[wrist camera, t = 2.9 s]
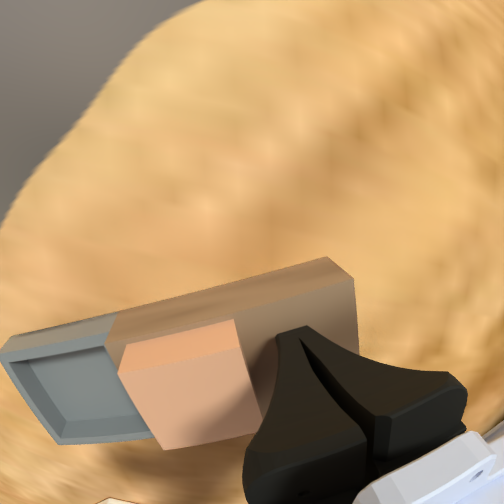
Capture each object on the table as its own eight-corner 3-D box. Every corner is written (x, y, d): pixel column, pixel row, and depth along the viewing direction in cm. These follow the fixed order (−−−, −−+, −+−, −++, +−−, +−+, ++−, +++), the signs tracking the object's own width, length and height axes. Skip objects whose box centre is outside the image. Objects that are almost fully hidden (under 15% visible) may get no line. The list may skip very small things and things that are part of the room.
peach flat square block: (257, 399, 14) (266, 429, 12) (165, 419, 13) (163, 450, 11) (233, 318, 12) (239, 346, 10) (126, 344, 12) (117, 373, 10)
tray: (167, 411, 17) (165, 436, 15) (65, 424, 16) (58, 445, 14) (118, 311, 15) (109, 331, 13) (11, 336, 14) (-4, 354, 12)
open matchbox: (340, 366, 18) (360, 397, 15) (167, 411, 17) (165, 449, 14) (326, 256, 16) (353, 278, 13) (118, 311, 15) (104, 343, 12)
